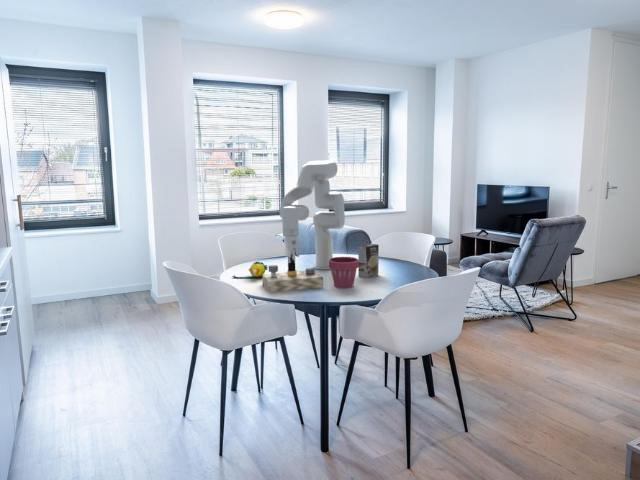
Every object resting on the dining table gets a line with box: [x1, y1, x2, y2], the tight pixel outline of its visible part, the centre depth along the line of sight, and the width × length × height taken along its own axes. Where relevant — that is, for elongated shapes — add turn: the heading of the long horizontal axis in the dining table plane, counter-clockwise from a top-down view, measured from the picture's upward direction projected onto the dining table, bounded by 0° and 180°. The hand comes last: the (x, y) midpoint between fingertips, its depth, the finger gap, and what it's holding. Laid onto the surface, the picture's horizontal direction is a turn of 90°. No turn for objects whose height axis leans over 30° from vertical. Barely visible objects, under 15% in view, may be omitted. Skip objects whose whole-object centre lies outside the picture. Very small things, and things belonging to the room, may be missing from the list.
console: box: [261, 270, 324, 293], centre depth 229 cm, size 26×16×5 cm, turn 107°
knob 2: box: [305, 267, 316, 275], centre depth 231 cm, size 4×4×6 cm
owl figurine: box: [231, 261, 269, 279], centre depth 249 cm, size 28×9×15 cm
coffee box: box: [357, 243, 380, 279], centre depth 246 cm, size 9×6×16 cm
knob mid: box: [287, 269, 298, 277], centre depth 229 cm, size 4×4×6 cm
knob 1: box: [268, 264, 279, 278], centre depth 225 cm, size 4×4×6 cm
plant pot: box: [329, 256, 359, 289], centre depth 226 cm, size 14×14×13 cm
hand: (291, 270), depth 228 cm, fingers closed
